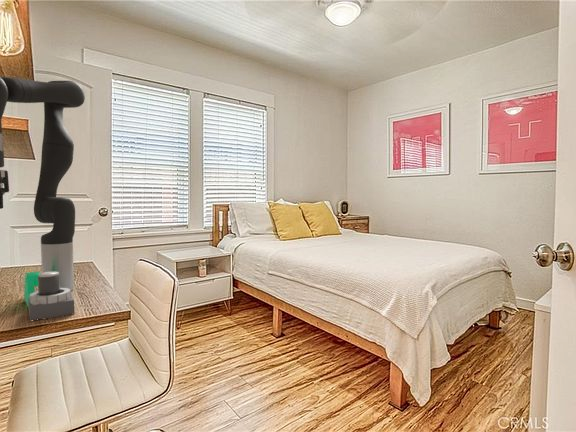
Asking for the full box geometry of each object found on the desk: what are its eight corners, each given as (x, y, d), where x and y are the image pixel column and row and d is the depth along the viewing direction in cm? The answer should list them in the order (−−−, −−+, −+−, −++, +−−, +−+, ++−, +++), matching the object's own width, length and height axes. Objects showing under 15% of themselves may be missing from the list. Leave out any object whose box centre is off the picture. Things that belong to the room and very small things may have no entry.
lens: (34, 300, 94) (33, 274, 94) (52, 296, 99) (52, 270, 98) (46, 303, 92) (45, 276, 92) (64, 298, 97) (63, 272, 96)
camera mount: (60, 305, 103) (59, 272, 102) (29, 311, 98) (28, 276, 97) (53, 297, 112) (52, 266, 111) (24, 301, 106) (23, 270, 106)
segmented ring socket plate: (28, 311, 97) (27, 291, 96) (69, 305, 103) (68, 285, 103) (30, 321, 89) (29, 299, 89) (74, 313, 95) (73, 293, 95)
